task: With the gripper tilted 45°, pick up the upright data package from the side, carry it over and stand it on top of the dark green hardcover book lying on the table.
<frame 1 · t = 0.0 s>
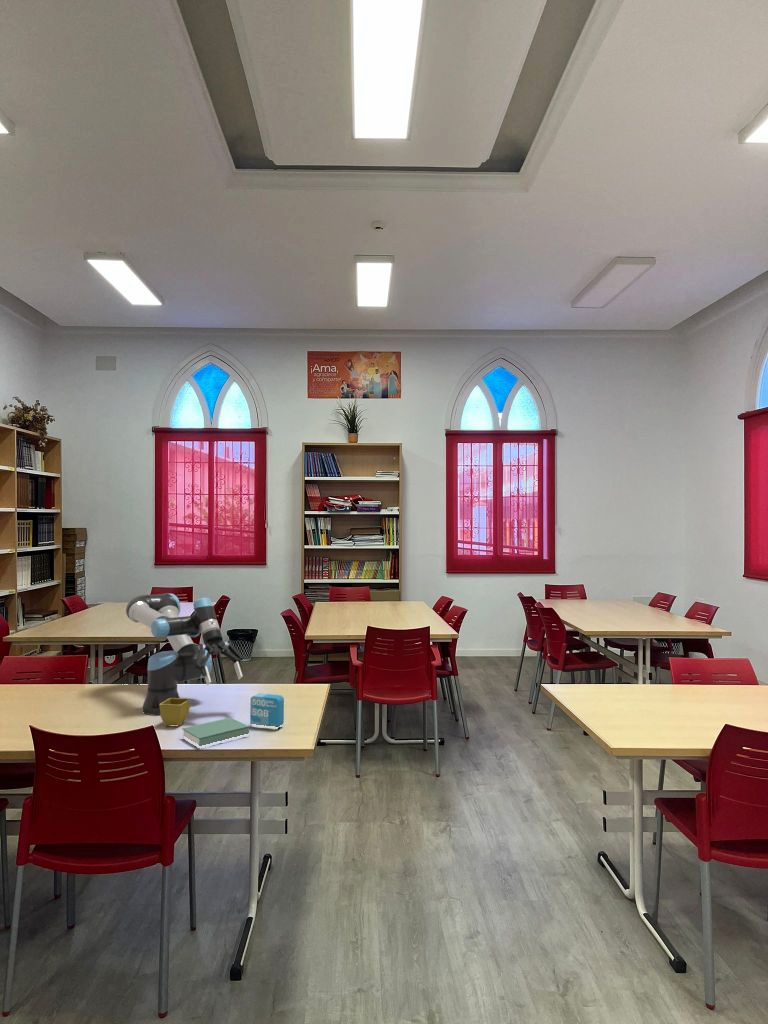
hand: (225, 680, 240), 15 cm above the table, tool tilted 35°, fingers open, 13 cm apart
green book: (215, 738, 218), on the table
flower pot: (174, 725, 233), on the table
data package: (266, 727, 230), on the table
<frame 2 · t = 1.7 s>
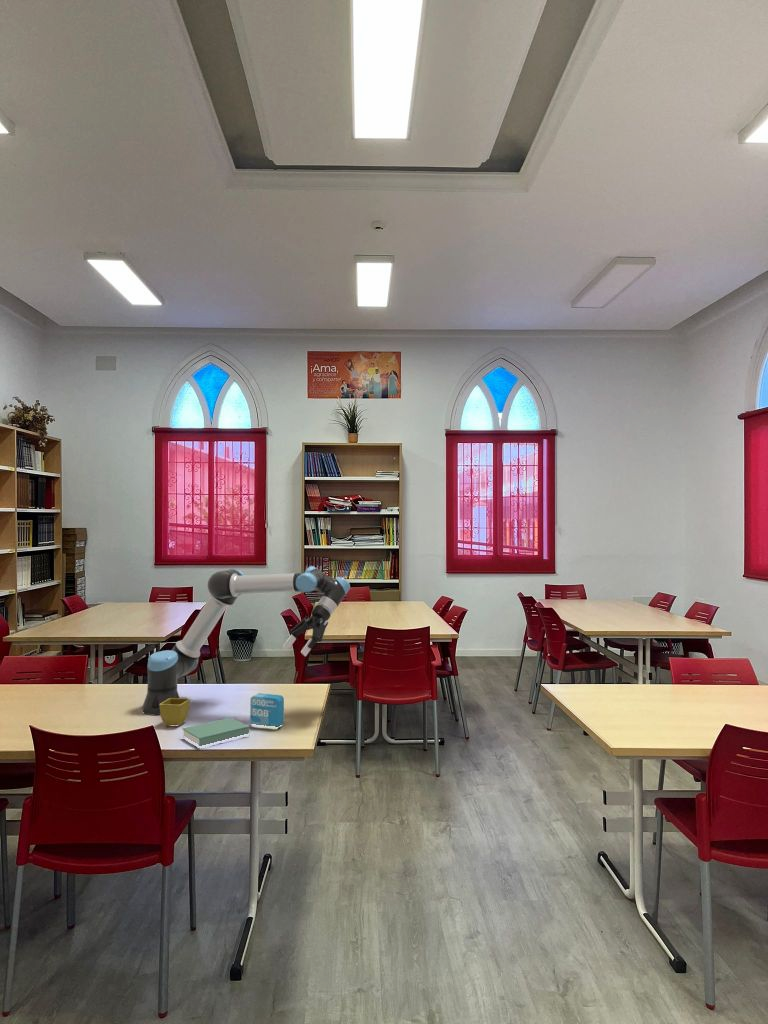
hand: (293, 651, 239), 27 cm above the table, tool tilted 45°, fingers open, 13 cm apart
nothing on the table moved.
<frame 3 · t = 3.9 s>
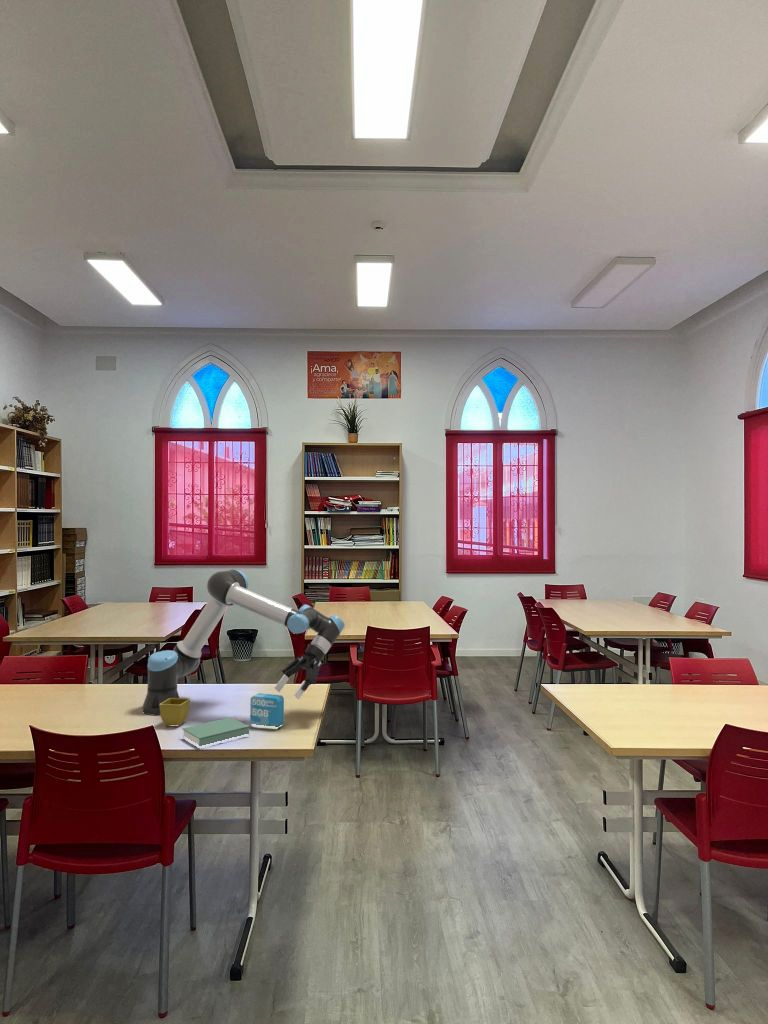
hand: (286, 693, 235), 11 cm above the table, tool tilted 45°, fingers open, 13 cm apart
nothing on the table moved.
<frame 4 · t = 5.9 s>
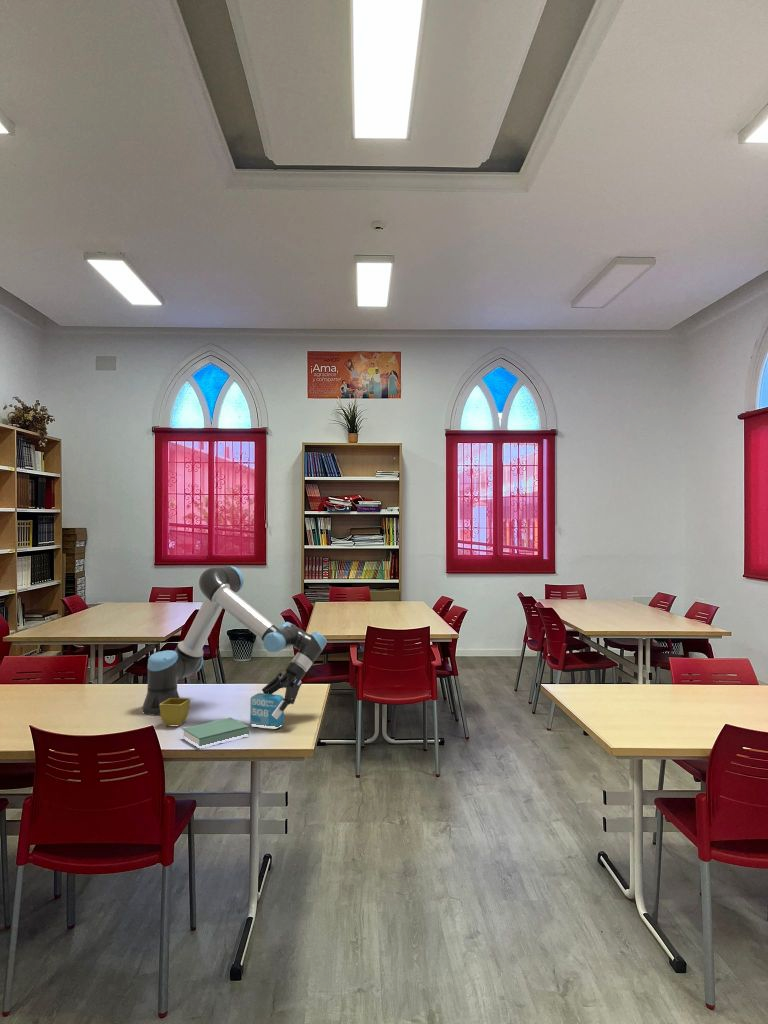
hand: (264, 713, 230), 5 cm above the table, tool tilted 45°, fingers closed on data package, 12 cm apart
data package: (266, 727, 230), on the table, touching gripper
everything else where it was.
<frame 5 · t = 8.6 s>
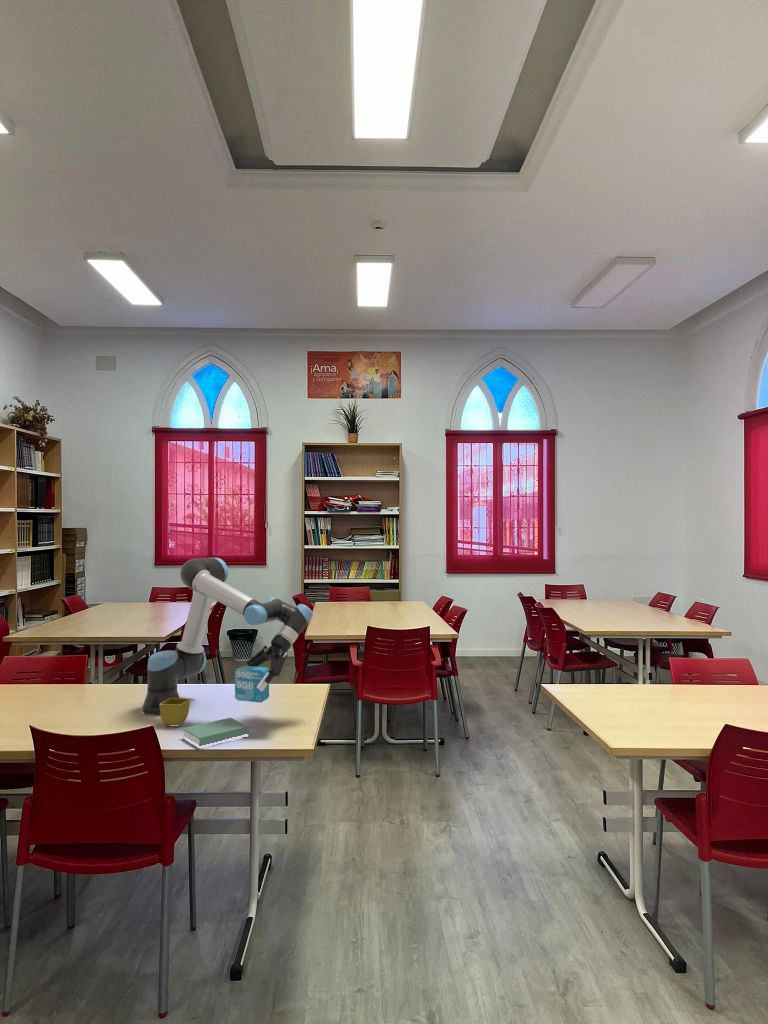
hand: (249, 685, 225), 17 cm above the table, tool tilted 45°, fingers closed on data package, 12 cm apart
data package: (251, 700, 226), point 11 cm above the table, touching gripper
everything else where it was.
when the fingers open (11 cm above the table, at t = 11.6 s): data package drops 2 cm, point 3 cm above the table.
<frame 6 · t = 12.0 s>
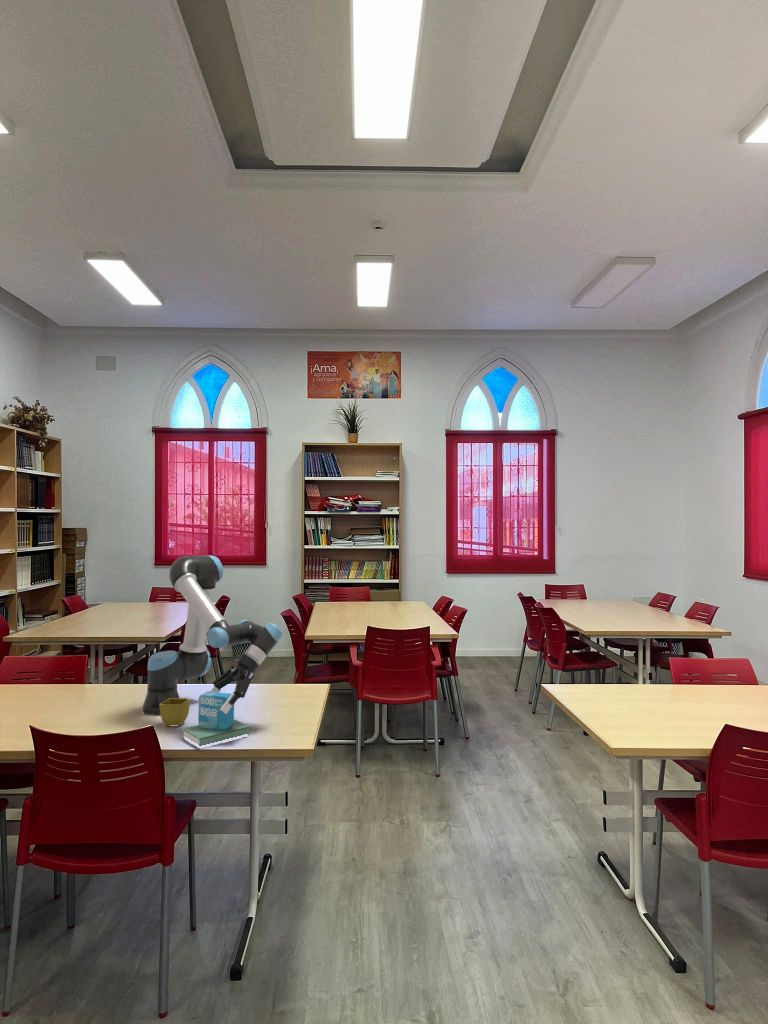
hand: (214, 707, 218), 11 cm above the table, tool tilted 45°, fingers open, 13 cm apart
data package: (215, 728, 219), point 3 cm above the table
everything else where it was.
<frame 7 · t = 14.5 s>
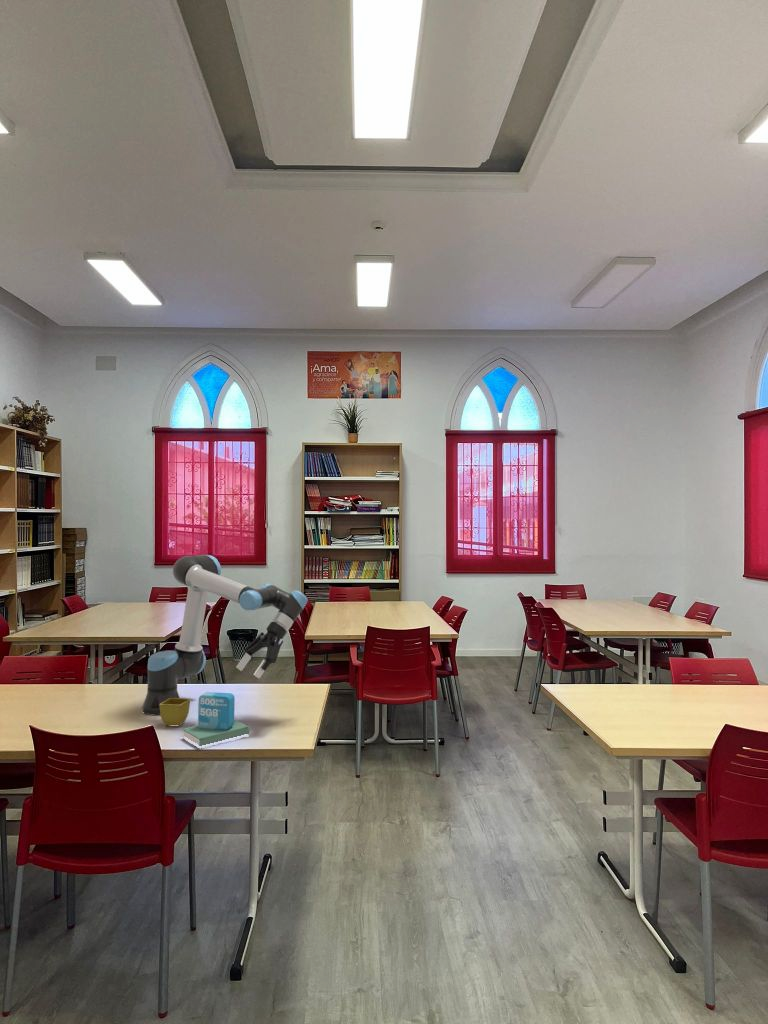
hand: (247, 672, 229), 21 cm above the table, tool tilted 40°, fingers open, 13 cm apart
green book: (215, 738, 218), on the table, touching data package
data package: (216, 728, 219), point 3 cm above the table, touching green book
everything else where it was.
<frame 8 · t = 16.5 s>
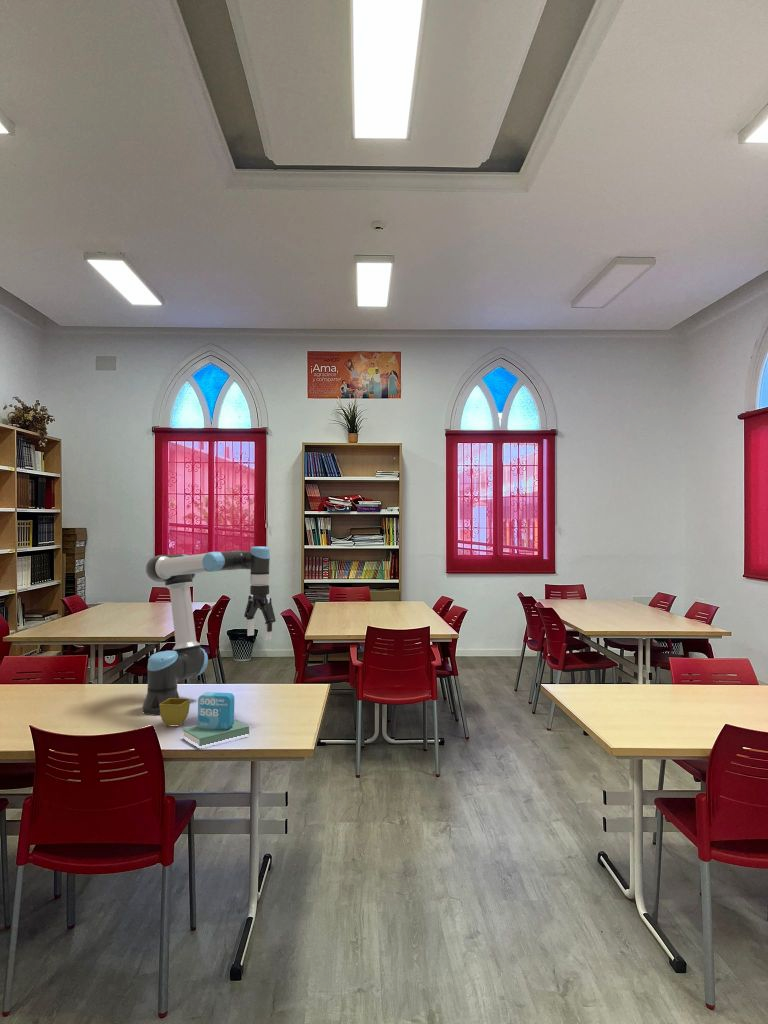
hand: (259, 637, 244), 32 cm above the table, tool pointing down, fingers open, 13 cm apart
nothing on the table moved.
at the end: data package inside the target area on the green book (0.2 cm from its centre), point 3.8 cm above the green book's base; data package tilted 0°; the gripper is holding nothing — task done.
